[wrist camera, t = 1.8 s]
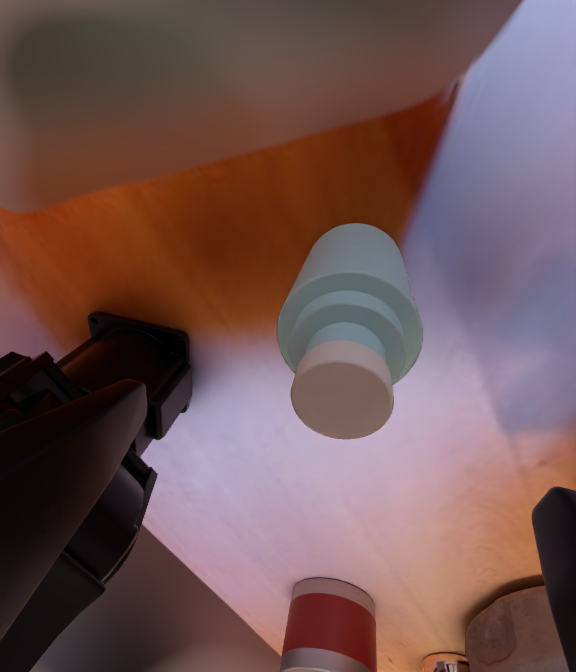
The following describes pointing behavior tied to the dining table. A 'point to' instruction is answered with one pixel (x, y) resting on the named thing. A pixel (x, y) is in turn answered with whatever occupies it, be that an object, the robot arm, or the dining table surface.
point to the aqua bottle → (349, 331)
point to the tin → (329, 629)
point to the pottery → (515, 635)
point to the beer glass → (446, 663)
